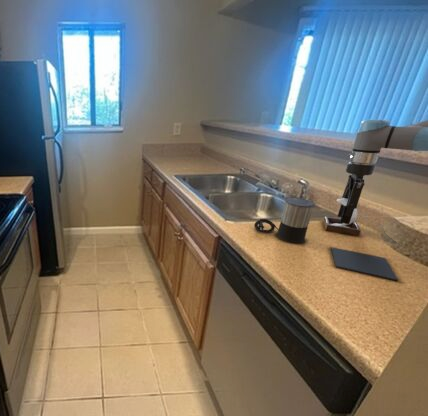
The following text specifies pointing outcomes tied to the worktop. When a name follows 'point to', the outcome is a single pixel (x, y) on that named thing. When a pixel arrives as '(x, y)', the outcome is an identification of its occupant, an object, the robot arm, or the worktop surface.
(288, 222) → the milk frother
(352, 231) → the tray
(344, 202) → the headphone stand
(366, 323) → the worktop surface
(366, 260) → the mat
